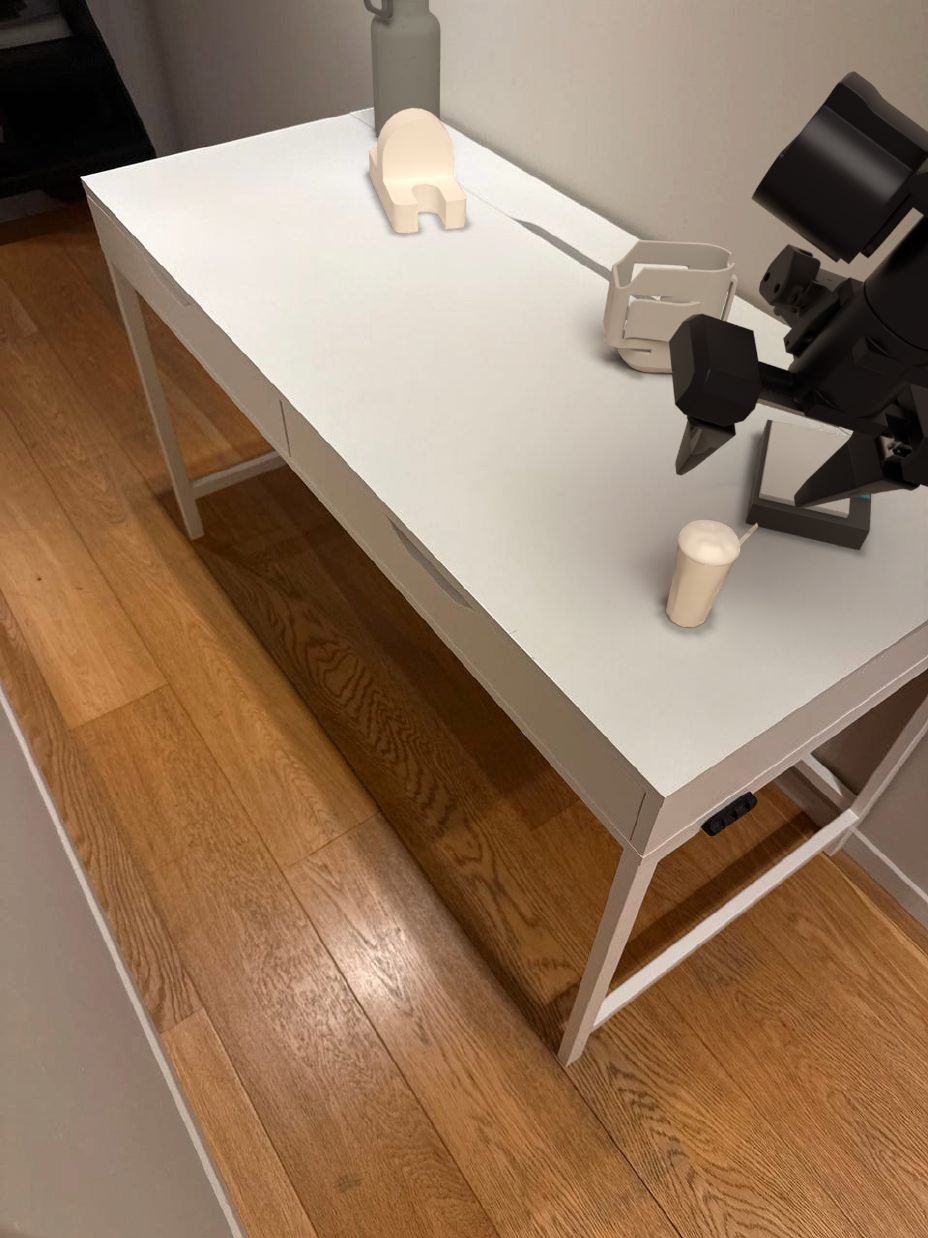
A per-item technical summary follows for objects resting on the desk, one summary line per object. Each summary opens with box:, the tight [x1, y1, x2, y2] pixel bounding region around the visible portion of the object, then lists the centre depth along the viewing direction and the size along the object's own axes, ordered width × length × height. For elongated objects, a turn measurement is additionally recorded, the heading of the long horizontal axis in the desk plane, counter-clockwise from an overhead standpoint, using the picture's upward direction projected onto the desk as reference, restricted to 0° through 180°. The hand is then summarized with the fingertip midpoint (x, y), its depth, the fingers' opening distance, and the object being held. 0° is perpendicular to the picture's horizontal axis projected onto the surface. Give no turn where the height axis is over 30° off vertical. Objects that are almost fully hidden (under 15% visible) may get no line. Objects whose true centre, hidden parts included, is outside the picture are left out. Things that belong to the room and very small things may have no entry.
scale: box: [745, 419, 872, 551], centre depth 81 cm, size 10×13×3 cm
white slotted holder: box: [368, 108, 467, 234], centre depth 116 cm, size 10×18×11 cm, turn 15°
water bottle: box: [363, 0, 442, 137], centre depth 123 cm, size 10×10×28 cm
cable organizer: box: [602, 239, 739, 374], centre depth 91 cm, size 7×12×12 cm, turn 88°
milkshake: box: [665, 519, 759, 628], centre depth 68 cm, size 4×5×10 cm
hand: (738, 486), depth 59 cm, fingers open, 9 cm apart
